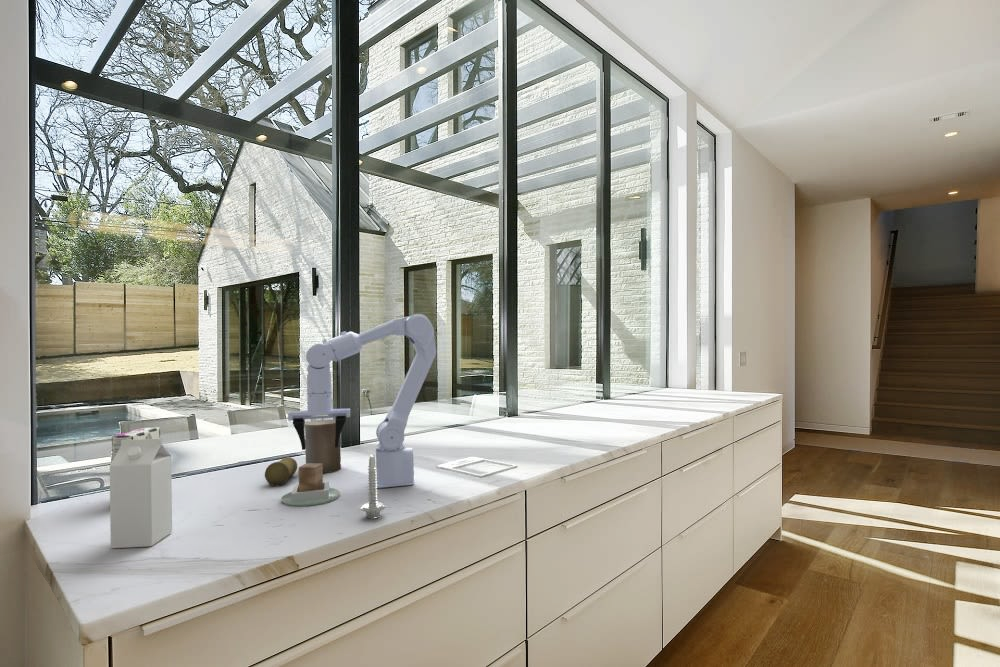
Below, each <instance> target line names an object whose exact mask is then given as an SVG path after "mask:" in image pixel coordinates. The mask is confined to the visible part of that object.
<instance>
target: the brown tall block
mask: <svg viewBox="0 0 1000 667" xmlns="http://www.w3.org/2000/svg"><path fill="white" fill-rule="evenodd" d="M323 474H324V473H323V463H306V462H305V463H304V464H302V465H301V466H299V467H298V484H299V492H304V491H314V490H323V482H324V480H323V477H324V476H323Z"/></svg>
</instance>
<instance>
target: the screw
mask: <svg viewBox="0 0 1000 667" xmlns="http://www.w3.org/2000/svg"><path fill="white" fill-rule="evenodd" d="M367 467H368V468H367V470H368V472H367V473H368V474H367V476H368V480H367V482H368V483H367V485H368V486H367V487H368V488H367V490H368V492H367V493H368V502H366V503H365V504H362V506H361V507H360V511H362V512H365V518H367V517H369V518H373V519H375V518H374V517H378V516H379V517H380V516H381V511H382V510H384V509H385V508H386V505H385V504H384V503H383V502H380V501H378V488H377V486H376V485H377V484H376V482H377V481H376V480H377V478H376V477H377V475H376V474H377V472H376V471H377V470H376V468H377V467H376V456H375V455H374V454H370V456H369V459H368V466H367ZM379 517H378V518H379ZM369 518H368V519H369Z"/></svg>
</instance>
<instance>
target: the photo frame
mask: <svg viewBox="0 0 1000 667" xmlns="http://www.w3.org/2000/svg"><path fill="white" fill-rule="evenodd" d="M485 461H486V463H490V462H491V464H496V465H502V466H507V467H504V468H500V469H497V470H494V471H490V472H486V473H482V474H479V473H474V472H470V471H466V470H461V469H459V468H463V467H467V466H470V464H471V465H475V464H478V463H481V462H485ZM466 465H467V466H466ZM462 466H463V467H462ZM437 467H440V468H439V469H441V468H444V469H443V470H446V469H447V470H446V471H450V470H452V471H451V472H455V471H456V472H455V473H459V472H460V474H463V473H465V475H468V474H470V475H469V476H472V475H474V476H473V477H477V476H478V478H483V476H485V477H487V475H488V476H491V475H490V474H492V475H494V474H493V473H495V474H498V473H497V472H499V473H501V471H502V472H505V471H509V470H511V469H515V468H518V464H513V463H507V462H503V461H498V460H491V459H486V458H482V457H476V456H469V457H466V458H461V459H457V460H455V461H453V460H452V461H449V462H446V463H441V464H438V465H436V468H437ZM458 467H459V468H458ZM454 468H456V469H454ZM508 469H509V470H508ZM504 470H505V471H504Z"/></svg>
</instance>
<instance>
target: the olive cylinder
mask: <svg viewBox="0 0 1000 667" xmlns="http://www.w3.org/2000/svg"><path fill="white" fill-rule="evenodd" d="M297 470H298V463H297V461H296V459H295V458H293V457H290V456H289V457H288V456H287V457H284V458H282V459H280V460H279V461H276V462H273V463H271V464H268V466H267V467H266V469H265V472H264V477H265V480H266V482H267V483H268V484H270V485H271V486H273V487H274V486H275V487H277V486H276V485H280V486H281V485H284V484H285V483H286V482H287V481H288V480H289V478H290V477H292V476H293V475H294V474H295V473H297Z"/></svg>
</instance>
